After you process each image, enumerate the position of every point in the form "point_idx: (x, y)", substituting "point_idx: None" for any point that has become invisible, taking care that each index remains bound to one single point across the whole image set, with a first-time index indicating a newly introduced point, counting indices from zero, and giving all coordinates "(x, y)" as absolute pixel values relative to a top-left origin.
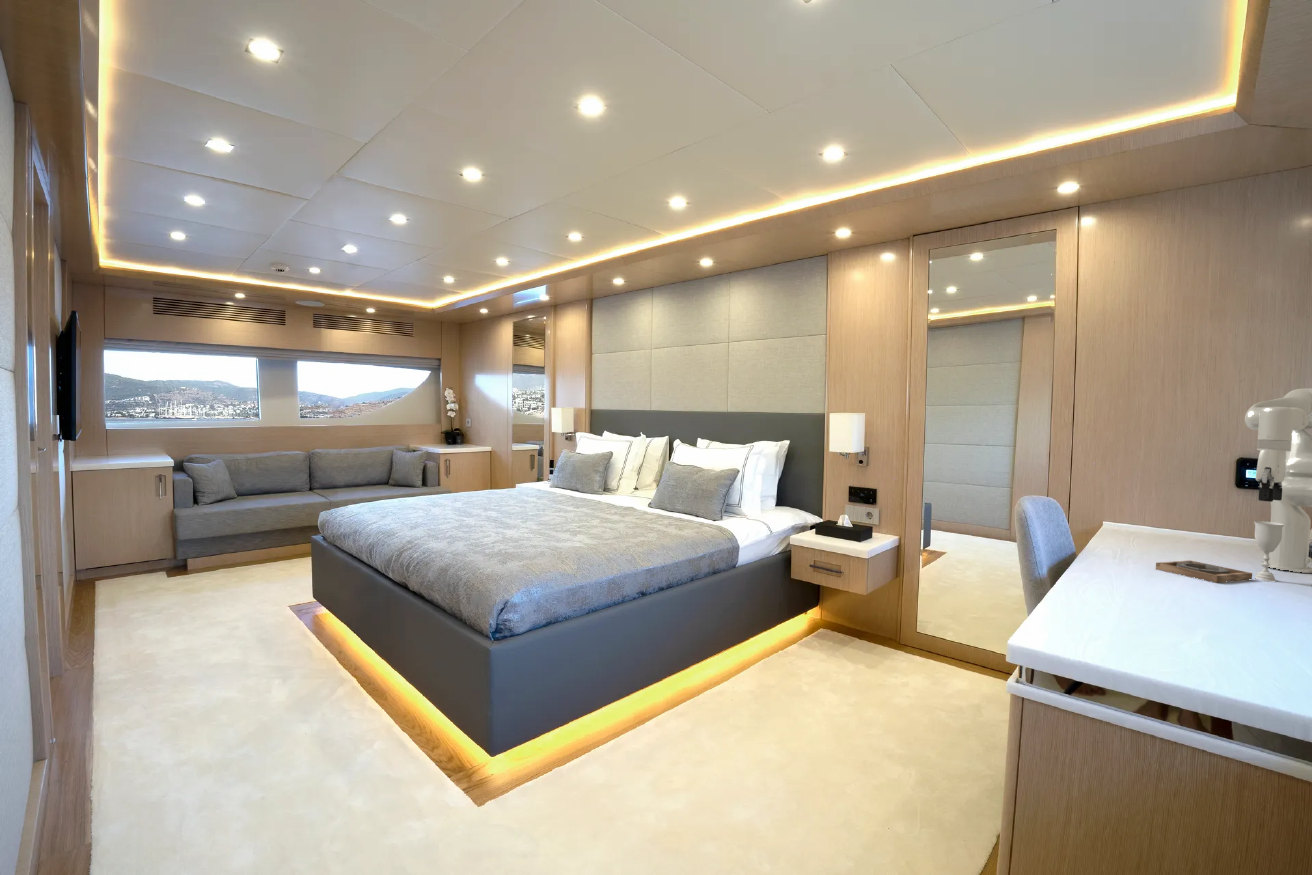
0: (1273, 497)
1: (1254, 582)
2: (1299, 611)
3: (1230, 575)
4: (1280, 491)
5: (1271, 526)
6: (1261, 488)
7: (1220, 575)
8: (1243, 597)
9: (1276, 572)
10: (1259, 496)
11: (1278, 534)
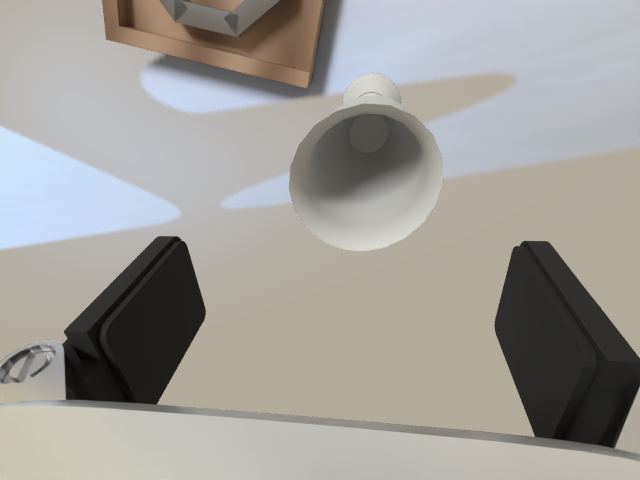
0: (511, 300)
1: (274, 101)
2: (47, 239)
3: (182, 57)
4: (526, 410)
5: (304, 202)
6: (79, 343)
7: (128, 43)
8: (32, 145)
9: (598, 85)
10: (143, 261)
11: (335, 207)
